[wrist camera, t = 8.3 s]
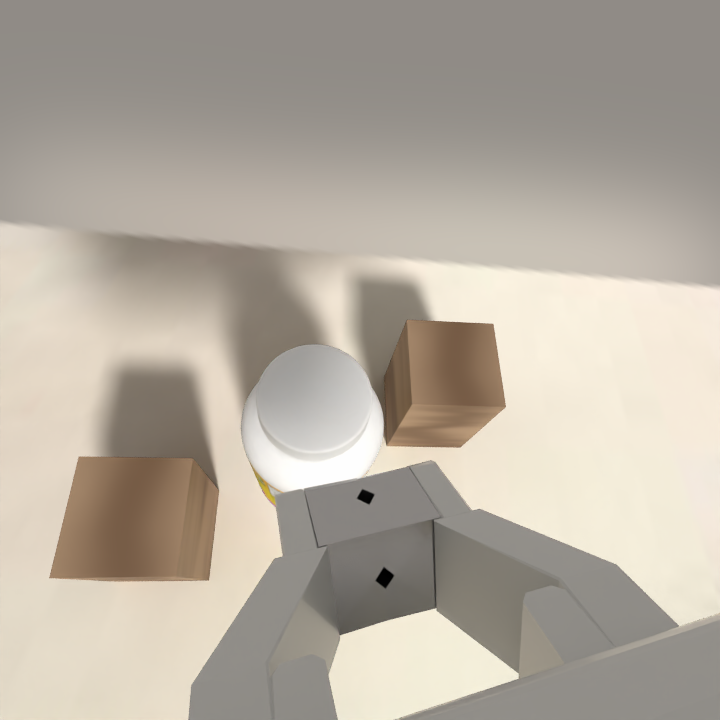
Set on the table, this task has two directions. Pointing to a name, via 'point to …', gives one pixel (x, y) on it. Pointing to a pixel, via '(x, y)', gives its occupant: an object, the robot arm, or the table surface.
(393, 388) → the walnut block seven
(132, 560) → the walnut block one
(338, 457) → the supplement bottle
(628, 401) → the table surface
